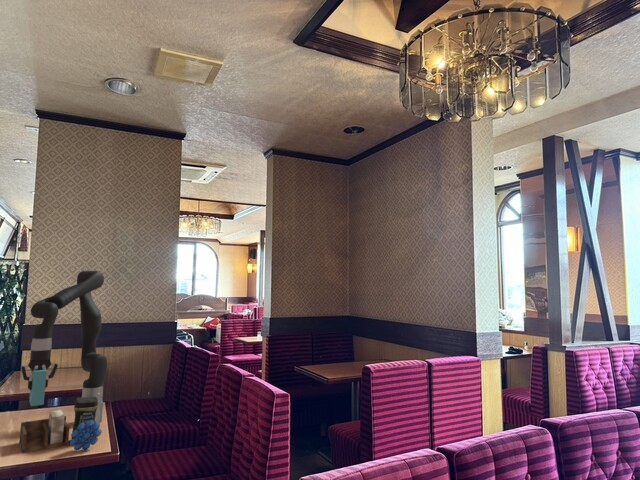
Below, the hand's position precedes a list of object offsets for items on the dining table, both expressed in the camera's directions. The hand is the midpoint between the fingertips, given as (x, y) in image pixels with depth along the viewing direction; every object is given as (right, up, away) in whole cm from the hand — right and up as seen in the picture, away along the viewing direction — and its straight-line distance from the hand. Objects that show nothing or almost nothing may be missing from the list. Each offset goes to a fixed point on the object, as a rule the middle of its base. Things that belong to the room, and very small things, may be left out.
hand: (37, 388), depth 192 cm
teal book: (0, -6, -1) cm, 6 cm away
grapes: (+23, -24, -5) cm, 33 cm away
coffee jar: (+17, -25, +5) cm, 30 cm away
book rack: (+3, -24, 0) cm, 24 cm away
